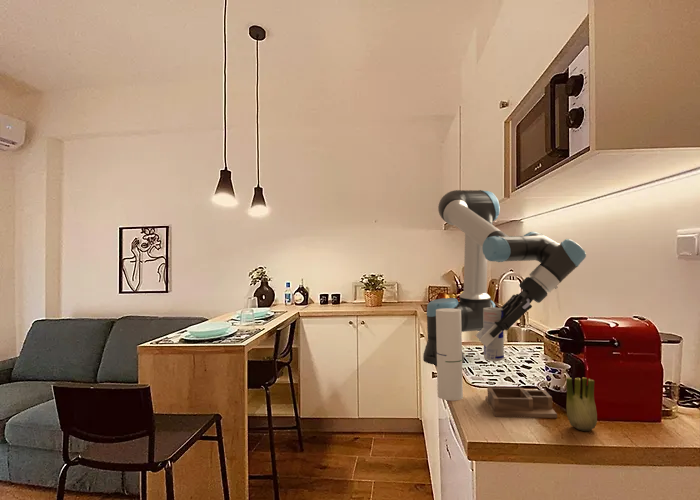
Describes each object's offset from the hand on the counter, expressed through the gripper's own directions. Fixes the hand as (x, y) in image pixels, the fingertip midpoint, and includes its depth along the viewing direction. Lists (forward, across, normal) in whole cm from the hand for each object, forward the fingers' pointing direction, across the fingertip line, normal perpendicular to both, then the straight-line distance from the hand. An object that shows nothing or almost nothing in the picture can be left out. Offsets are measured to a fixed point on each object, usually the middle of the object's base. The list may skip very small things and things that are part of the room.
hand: (480, 340), depth 133 cm
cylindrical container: (+18, -3, -4) cm, 19 cm away
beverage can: (+1, 0, -7) cm, 7 cm away
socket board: (+5, -12, -16) cm, 21 cm away
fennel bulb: (-3, -25, -24) cm, 35 cm away
